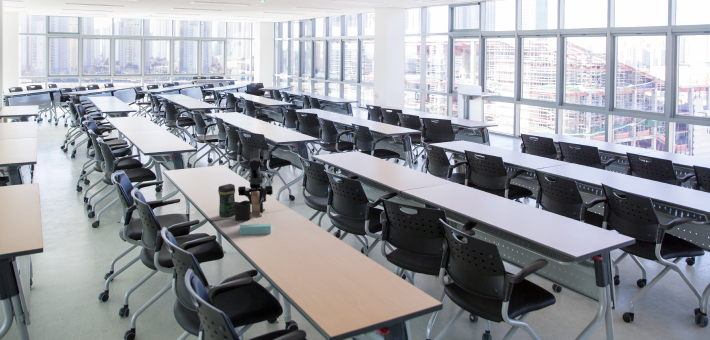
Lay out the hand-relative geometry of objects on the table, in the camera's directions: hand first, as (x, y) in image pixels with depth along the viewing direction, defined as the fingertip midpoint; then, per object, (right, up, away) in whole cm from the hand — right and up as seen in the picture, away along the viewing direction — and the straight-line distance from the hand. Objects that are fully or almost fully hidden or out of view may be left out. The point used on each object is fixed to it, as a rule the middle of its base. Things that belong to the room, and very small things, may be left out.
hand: (255, 203), depth 299 cm
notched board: (+1, -14, -5) cm, 15 cm away
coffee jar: (-20, -8, +22) cm, 31 cm away
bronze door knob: (0, -7, +3) cm, 8 cm away
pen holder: (-10, -10, +15) cm, 20 cm away
